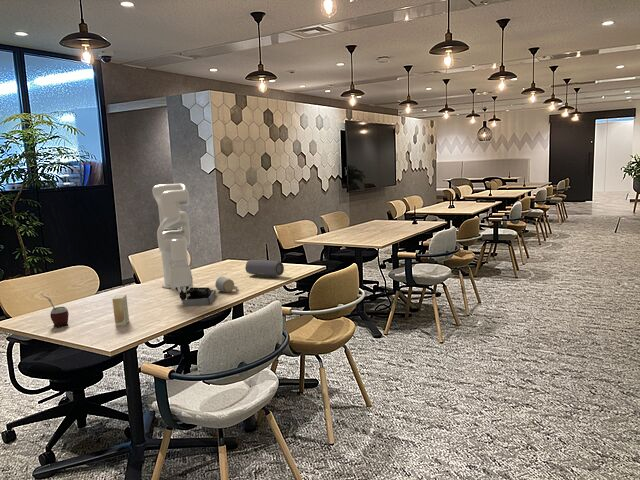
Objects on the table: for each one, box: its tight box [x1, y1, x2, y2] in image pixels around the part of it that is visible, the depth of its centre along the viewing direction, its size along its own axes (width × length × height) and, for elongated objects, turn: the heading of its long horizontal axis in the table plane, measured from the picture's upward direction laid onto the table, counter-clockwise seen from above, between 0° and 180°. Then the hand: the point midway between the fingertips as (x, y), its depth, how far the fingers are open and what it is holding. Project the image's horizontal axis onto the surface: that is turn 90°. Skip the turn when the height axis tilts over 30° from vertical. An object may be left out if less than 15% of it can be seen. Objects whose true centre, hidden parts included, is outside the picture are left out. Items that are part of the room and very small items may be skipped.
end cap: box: [186, 286, 212, 300], centre depth 253 cm, size 10×7×7 cm
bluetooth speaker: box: [244, 259, 285, 278], centre depth 303 cm, size 23×9×10 cm, turn 58°
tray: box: [182, 289, 217, 307], centre depth 254 cm, size 18×13×3 cm
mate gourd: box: [42, 295, 70, 329], centre depth 222 cm, size 8×8×15 cm
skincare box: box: [112, 294, 130, 327], centre depth 220 cm, size 6×4×12 cm
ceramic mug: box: [214, 276, 238, 293], centre depth 271 cm, size 11×8×8 cm
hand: (183, 299), depth 254 cm, fingers closed
